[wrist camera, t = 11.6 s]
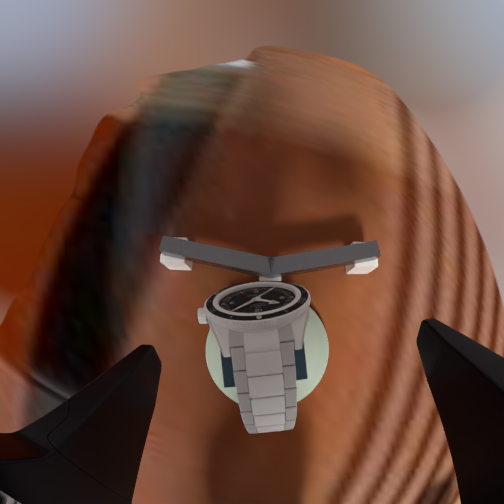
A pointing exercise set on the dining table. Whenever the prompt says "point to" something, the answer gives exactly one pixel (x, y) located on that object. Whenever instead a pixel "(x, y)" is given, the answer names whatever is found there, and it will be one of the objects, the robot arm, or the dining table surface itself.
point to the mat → (314, 356)
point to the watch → (261, 348)
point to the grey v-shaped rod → (187, 265)
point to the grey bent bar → (269, 265)
